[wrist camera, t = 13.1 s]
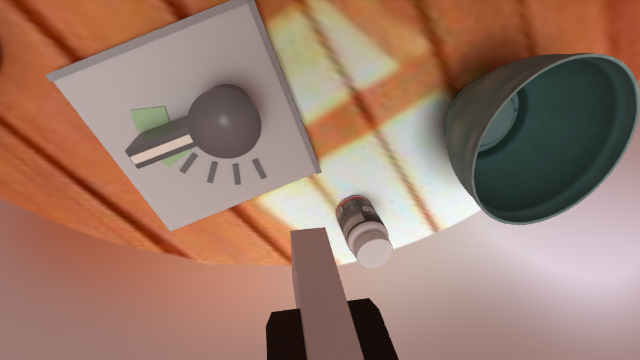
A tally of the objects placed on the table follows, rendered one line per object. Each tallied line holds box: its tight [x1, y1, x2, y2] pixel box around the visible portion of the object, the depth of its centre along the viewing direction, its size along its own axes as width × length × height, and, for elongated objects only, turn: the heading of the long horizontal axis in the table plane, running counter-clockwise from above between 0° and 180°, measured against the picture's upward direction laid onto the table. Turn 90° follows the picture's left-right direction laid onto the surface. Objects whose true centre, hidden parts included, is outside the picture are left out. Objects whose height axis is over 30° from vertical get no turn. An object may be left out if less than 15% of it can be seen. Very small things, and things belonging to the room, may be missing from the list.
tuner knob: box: [125, 84, 262, 169], centre depth 28 cm, size 11×6×5 cm, turn 108°
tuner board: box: [45, 0, 321, 231], centre depth 31 cm, size 18×18×2 cm
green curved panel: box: [130, 106, 267, 185], centre depth 32 cm, size 11×9×1 cm
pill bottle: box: [336, 196, 393, 268], centre depth 37 cm, size 5×5×8 cm
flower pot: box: [445, 53, 640, 225], centre depth 33 cm, size 16×16×11 cm
